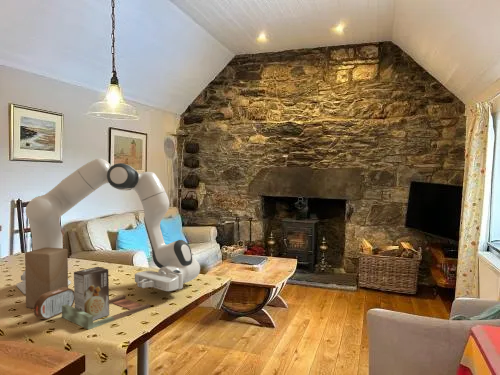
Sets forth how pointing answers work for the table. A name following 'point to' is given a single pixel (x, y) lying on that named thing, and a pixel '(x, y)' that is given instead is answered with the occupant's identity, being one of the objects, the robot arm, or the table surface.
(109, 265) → the table surface
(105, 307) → the coffee box
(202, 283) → the table surface
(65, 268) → the wooden block
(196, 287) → the table surface
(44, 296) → the tin
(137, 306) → the brown low open piece
